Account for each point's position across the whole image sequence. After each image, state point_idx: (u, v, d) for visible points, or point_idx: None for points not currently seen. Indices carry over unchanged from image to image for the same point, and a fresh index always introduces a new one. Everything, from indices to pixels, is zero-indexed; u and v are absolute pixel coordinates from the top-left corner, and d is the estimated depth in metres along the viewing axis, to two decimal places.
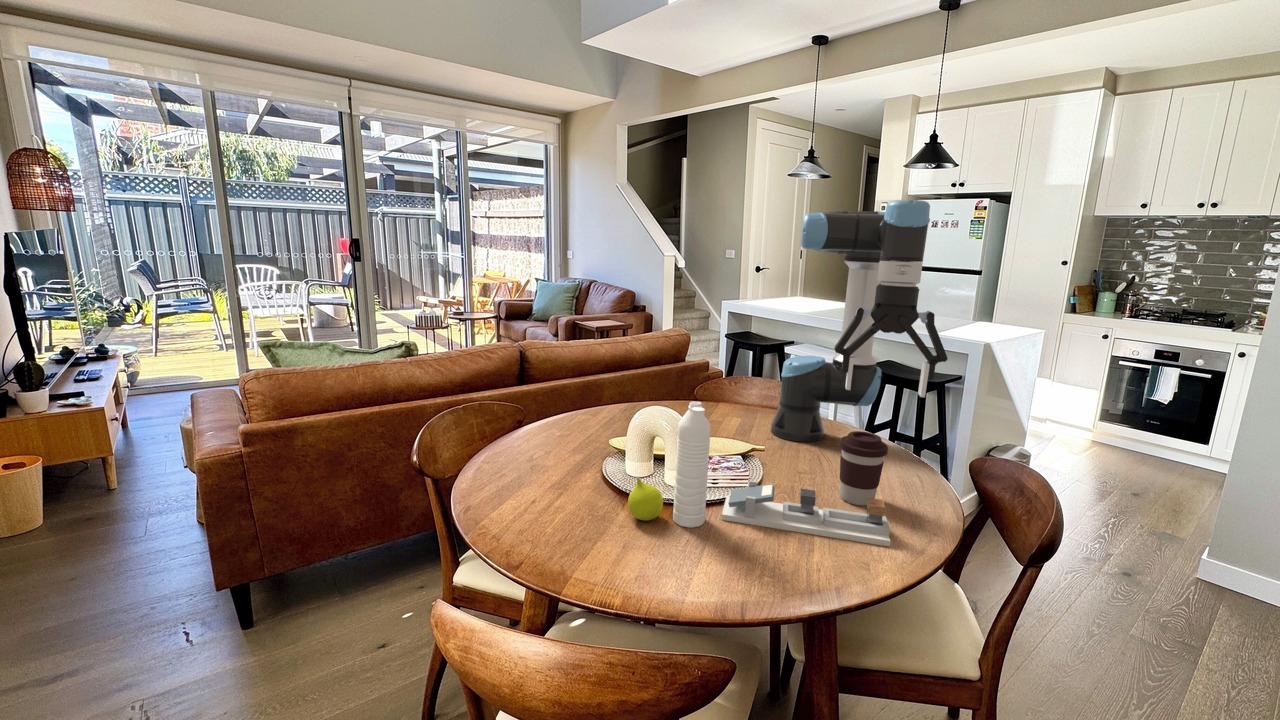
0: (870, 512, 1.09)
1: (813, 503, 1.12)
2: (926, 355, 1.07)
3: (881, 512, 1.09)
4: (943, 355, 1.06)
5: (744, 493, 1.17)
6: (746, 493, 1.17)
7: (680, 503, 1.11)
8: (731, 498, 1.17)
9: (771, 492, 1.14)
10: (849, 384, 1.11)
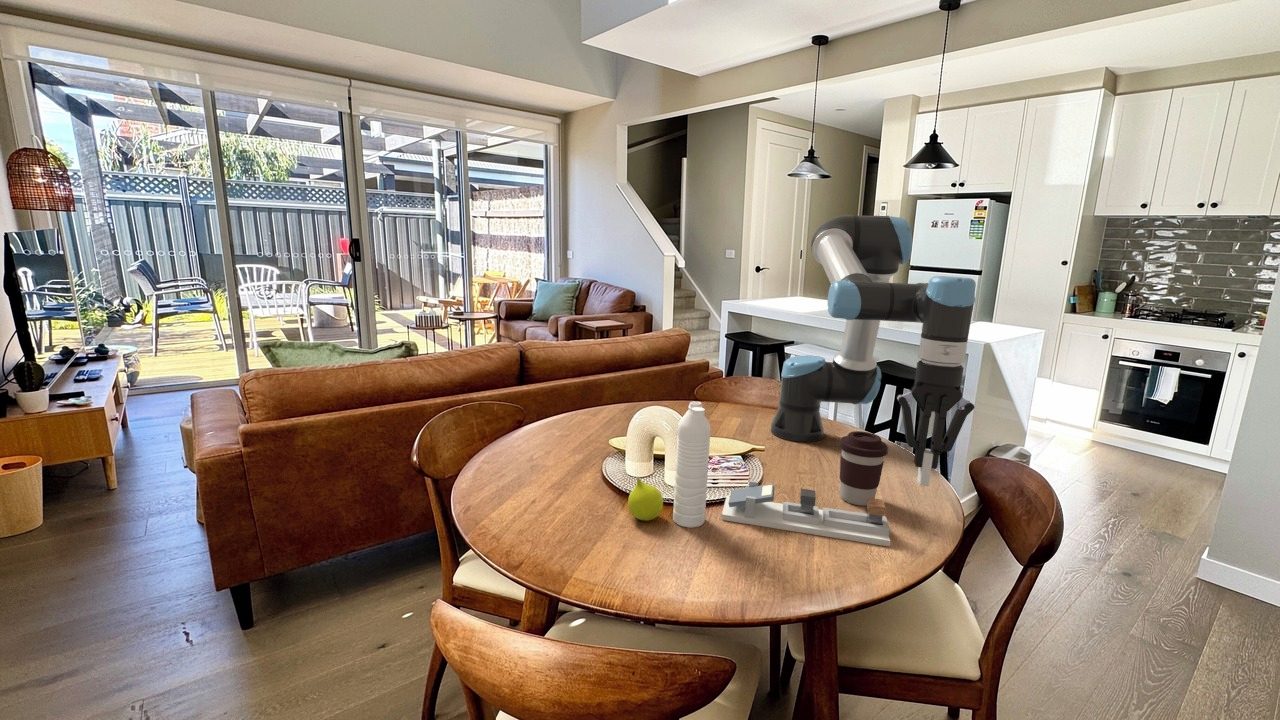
0: (870, 512, 1.09)
1: (813, 503, 1.12)
2: (936, 442, 1.04)
3: (881, 512, 1.09)
4: (950, 445, 1.03)
5: (744, 493, 1.17)
6: (746, 493, 1.17)
7: (680, 503, 1.11)
8: (731, 498, 1.17)
9: (771, 492, 1.14)
10: (923, 480, 1.05)
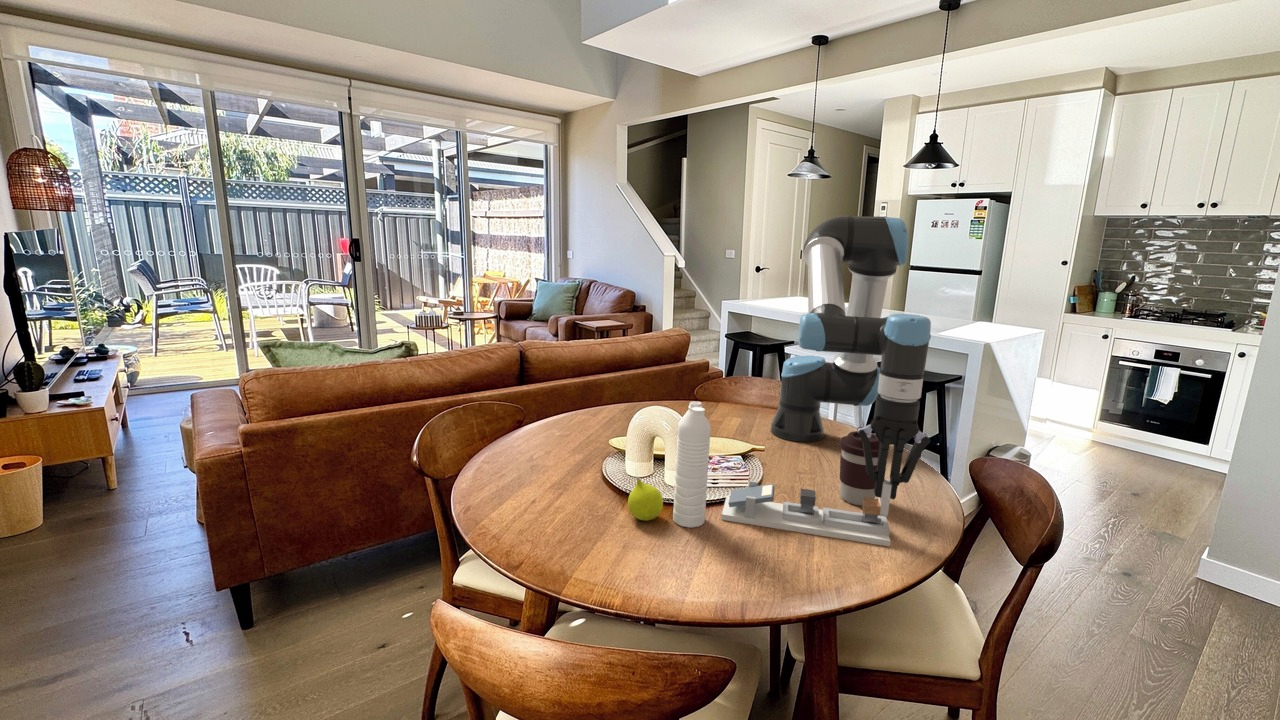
0: (865, 511, 1.09)
1: (813, 503, 1.12)
2: (894, 473, 1.07)
3: (876, 511, 1.09)
4: (907, 477, 1.07)
5: (744, 493, 1.17)
6: (746, 493, 1.17)
7: (680, 503, 1.11)
8: (731, 498, 1.17)
9: (771, 492, 1.14)
10: (882, 510, 1.09)
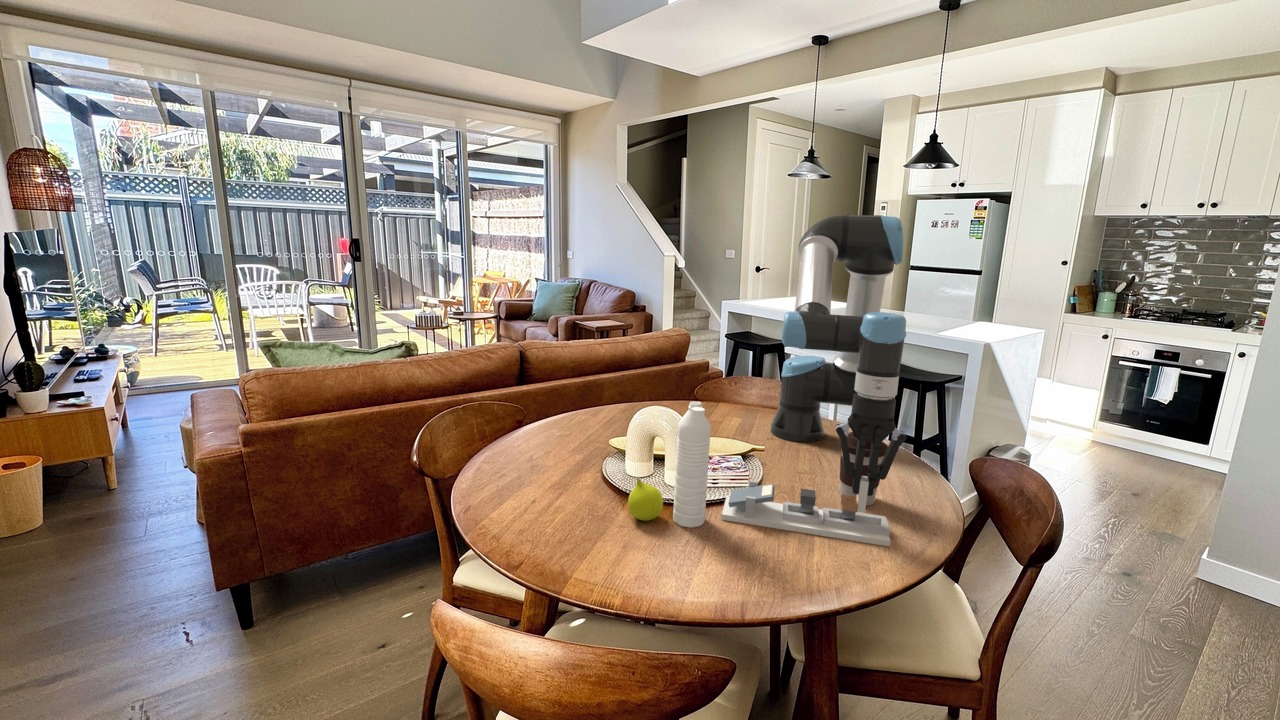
0: (843, 508, 1.10)
1: (813, 503, 1.12)
2: (871, 470, 1.08)
3: (854, 508, 1.10)
4: (884, 474, 1.08)
5: (744, 493, 1.17)
6: (746, 493, 1.17)
7: (680, 503, 1.11)
8: (731, 498, 1.17)
9: (771, 492, 1.14)
10: (860, 506, 1.10)
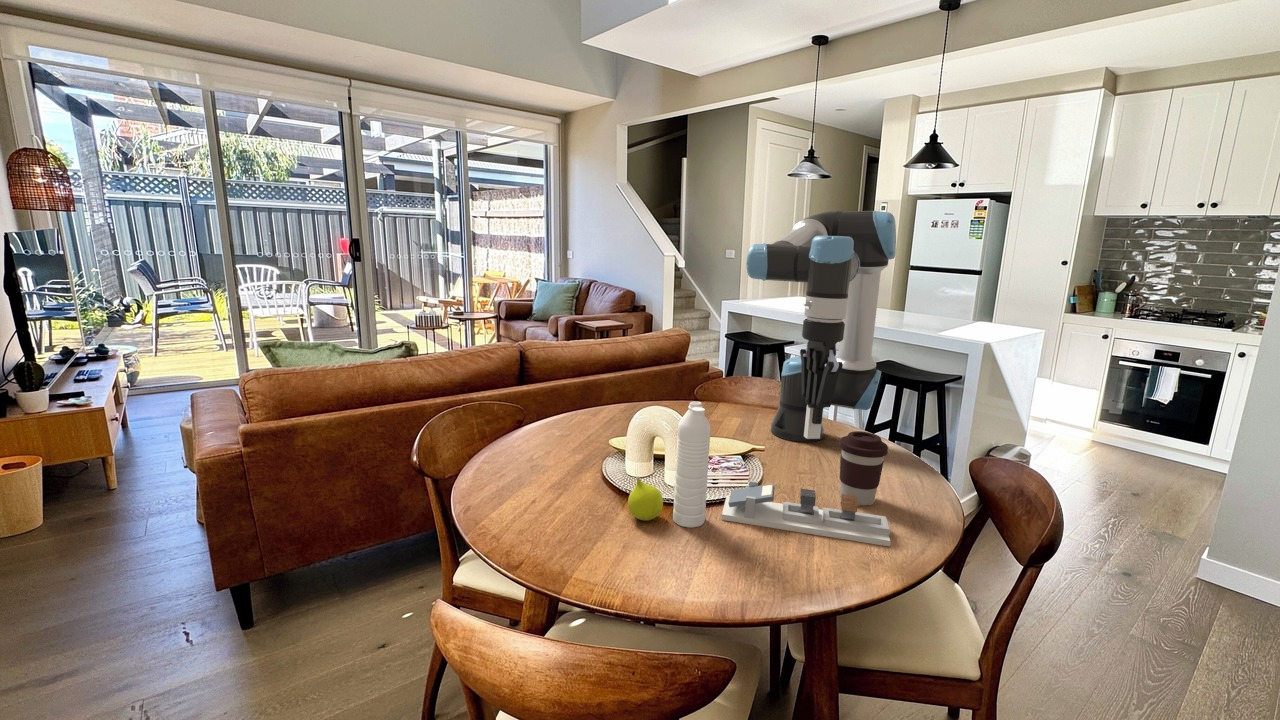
0: (843, 508, 1.10)
1: (813, 503, 1.12)
2: (812, 396, 1.08)
3: (854, 508, 1.10)
4: (818, 401, 1.06)
5: (744, 493, 1.17)
6: (746, 493, 1.17)
7: (680, 503, 1.11)
8: (731, 498, 1.17)
9: (771, 492, 1.14)
10: (805, 431, 1.11)
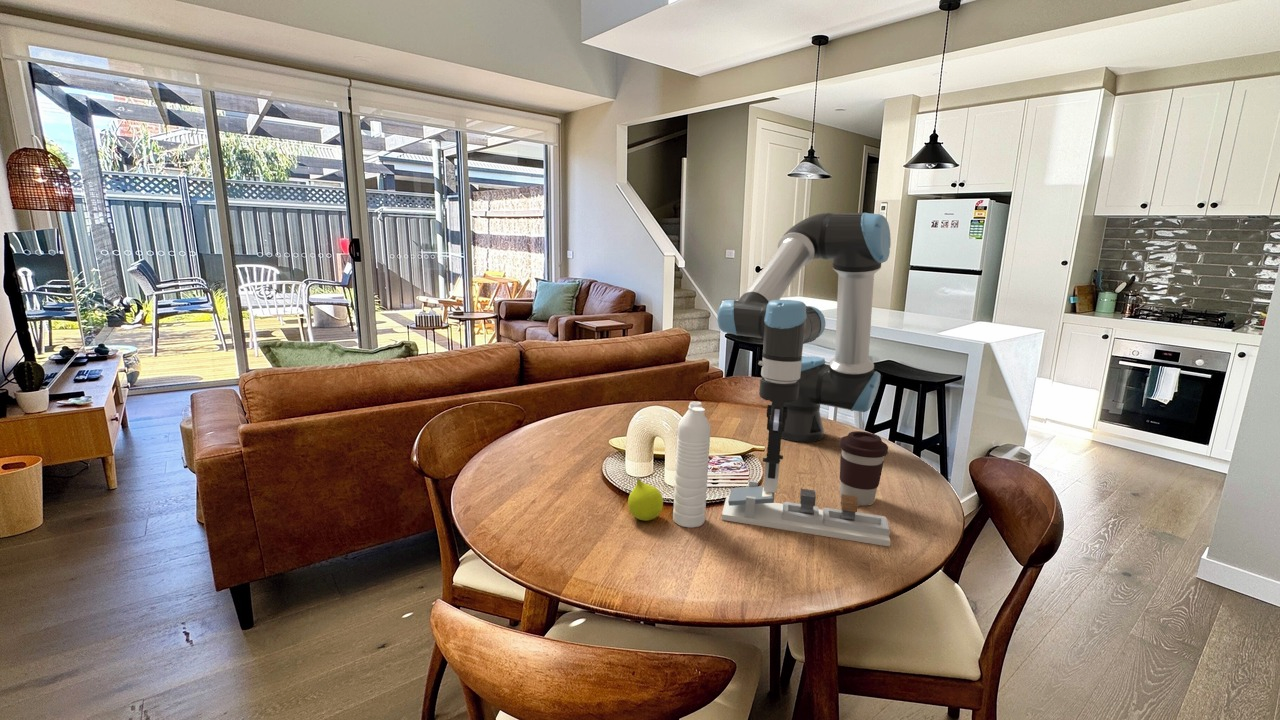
0: (843, 508, 1.10)
1: (813, 503, 1.12)
2: None
3: (854, 508, 1.10)
4: None
5: (744, 493, 1.17)
6: (746, 493, 1.17)
7: (680, 503, 1.11)
8: (731, 496, 1.17)
9: (772, 494, 1.14)
10: None
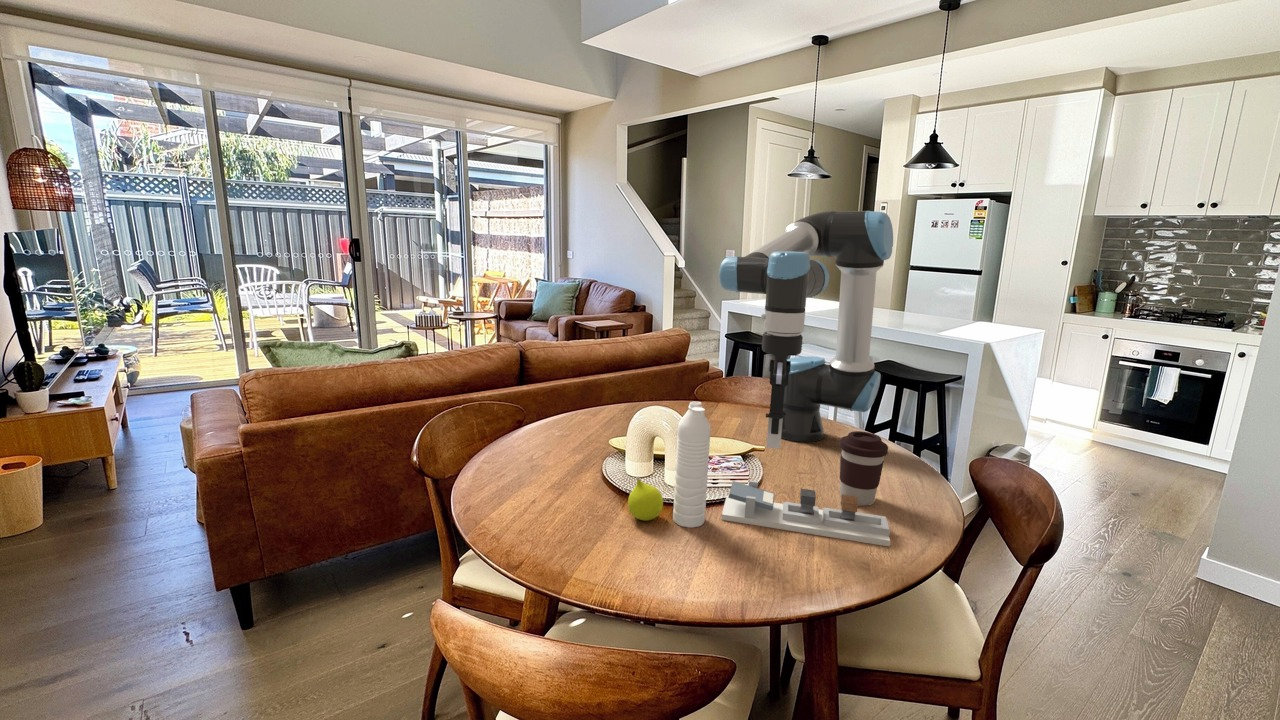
0: (843, 508, 1.10)
1: (813, 503, 1.12)
2: None
3: (854, 508, 1.10)
4: (769, 411, 1.09)
5: (745, 490, 1.17)
6: (747, 491, 1.17)
7: (680, 503, 1.11)
8: (732, 489, 1.16)
9: (772, 501, 1.14)
10: None
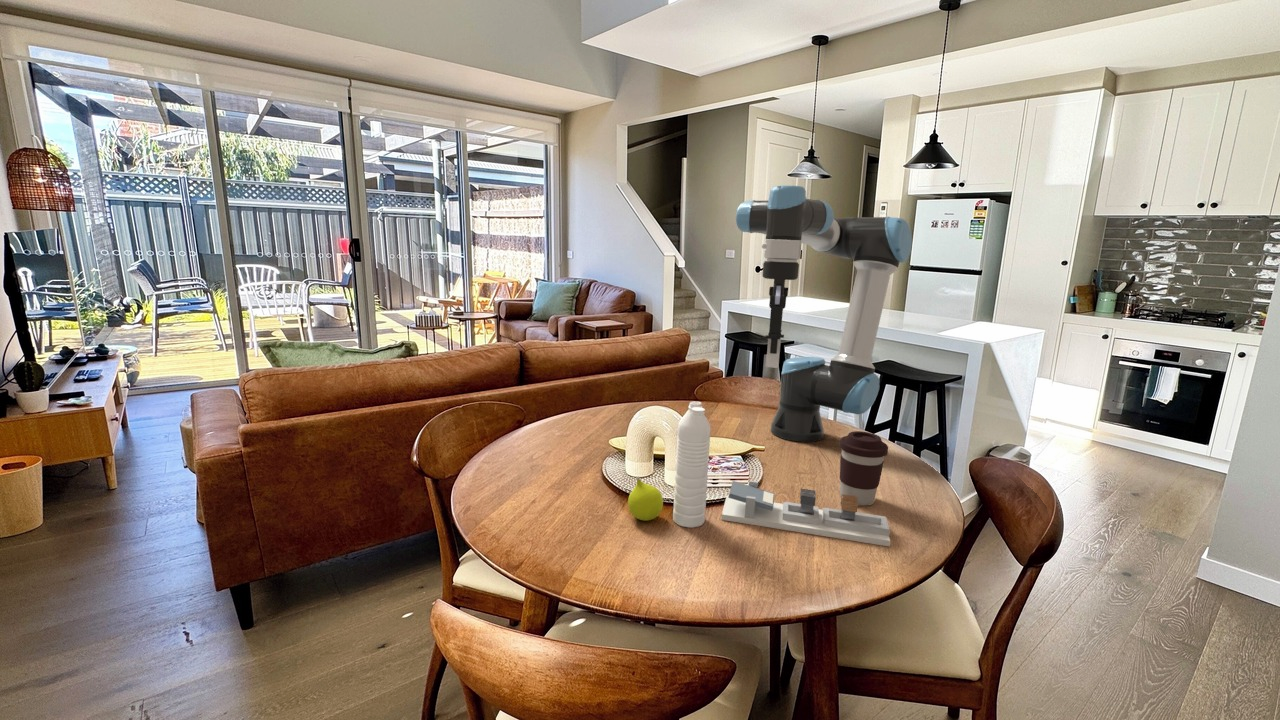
0: (843, 508, 1.10)
1: (813, 503, 1.12)
2: None
3: (854, 508, 1.10)
4: (769, 331, 1.22)
5: (745, 490, 1.17)
6: (747, 491, 1.17)
7: (680, 503, 1.11)
8: (732, 489, 1.16)
9: (772, 501, 1.14)
10: None
